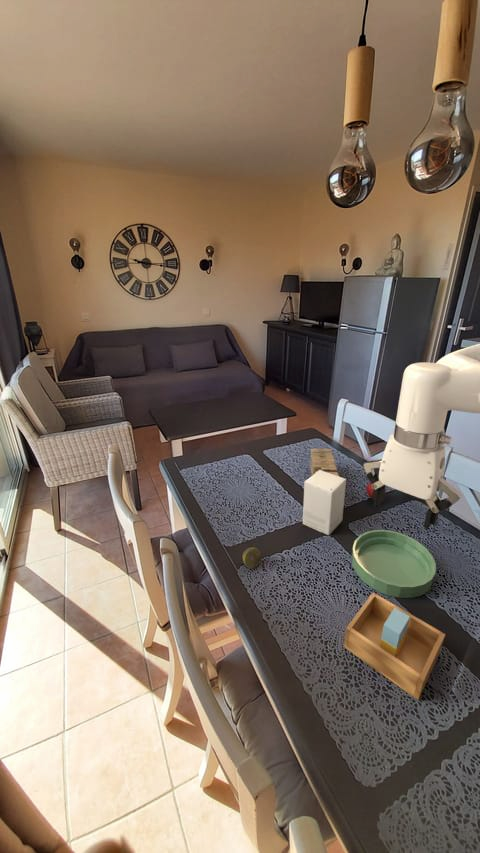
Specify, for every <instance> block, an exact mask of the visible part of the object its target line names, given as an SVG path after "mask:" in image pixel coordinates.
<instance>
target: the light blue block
mask: <svg viewBox="0 0 480 853" xmlns="http://www.w3.org/2000/svg"><path fill="white" fill-rule="evenodd" d="M409 619H410V616H408V615H406V614H405V613H403V612H401V611H399V610H398V609H396V608H394V610H393V611H392V613H391V614H390V616H389V617H388V619H387V620H386V622H385V624H384V627H383V632H382V637H381V639H382V640H384V641H385V642H387V643H388V644H390V645H392V646H393V647H395V648H396V649H397V647H398V645H399V644H400V642H401V640H402V638H403V637H404V635H405V633H406V631H407V628H408V624H409Z"/></svg>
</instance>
